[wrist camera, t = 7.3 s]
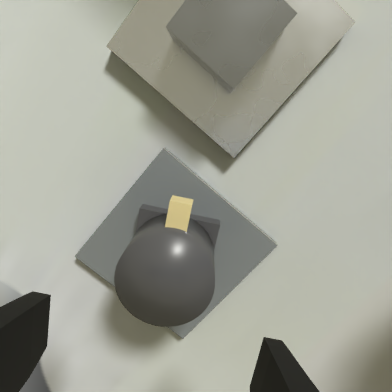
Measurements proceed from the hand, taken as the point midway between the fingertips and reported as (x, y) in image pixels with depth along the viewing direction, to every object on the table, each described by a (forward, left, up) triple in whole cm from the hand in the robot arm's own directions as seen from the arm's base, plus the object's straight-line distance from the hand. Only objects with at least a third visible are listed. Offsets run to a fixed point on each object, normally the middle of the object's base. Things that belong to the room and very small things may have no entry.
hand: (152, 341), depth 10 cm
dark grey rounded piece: (0, 0, -7) cm, 7 cm away
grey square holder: (+5, -10, -8) cm, 14 cm away
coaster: (0, 0, -8) cm, 8 cm away
